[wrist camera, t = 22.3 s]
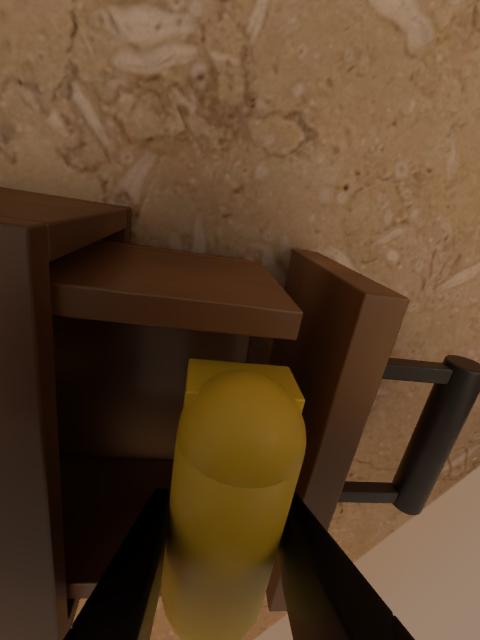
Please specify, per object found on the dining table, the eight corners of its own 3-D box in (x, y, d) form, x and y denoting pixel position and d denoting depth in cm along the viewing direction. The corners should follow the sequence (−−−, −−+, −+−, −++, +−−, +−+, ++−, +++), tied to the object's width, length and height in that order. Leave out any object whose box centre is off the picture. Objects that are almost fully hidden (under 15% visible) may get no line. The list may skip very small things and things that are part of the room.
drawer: (433, 268, 15) (601, 323, 9) (358, 471, 19) (434, 606, 13) (-23, 202, 12) (-274, 211, 6) (8, 458, 16) (-115, 626, 10)
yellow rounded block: (248, 551, 12) (263, 672, 9) (164, 551, 11) (150, 681, 8) (296, 350, 9) (343, 429, 6) (186, 339, 8) (177, 420, 5)
